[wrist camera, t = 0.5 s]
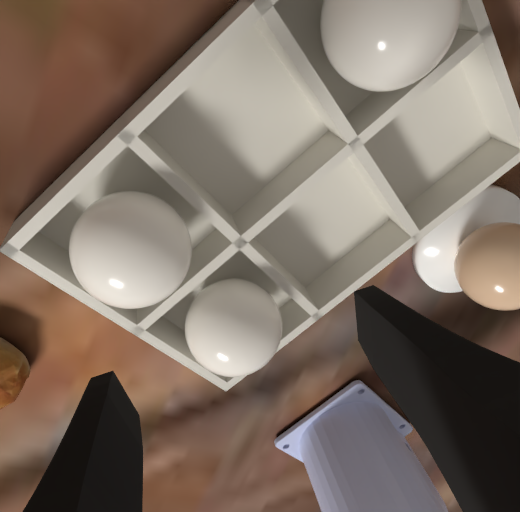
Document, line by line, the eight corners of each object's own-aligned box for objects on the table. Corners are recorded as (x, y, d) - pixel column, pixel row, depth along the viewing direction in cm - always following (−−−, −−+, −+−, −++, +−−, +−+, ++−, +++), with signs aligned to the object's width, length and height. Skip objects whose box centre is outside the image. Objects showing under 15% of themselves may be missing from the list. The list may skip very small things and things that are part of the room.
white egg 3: (429, 25, 18) (512, 35, 14) (341, 103, 19) (396, 133, 15) (379, -89, 15) (464, -117, 11) (278, 7, 16) (326, 11, 12)
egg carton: (496, 136, 22) (533, 150, 20) (218, 359, 26) (226, 391, 24) (384, -143, 15) (424, -165, 13) (13, 221, 18) (-2, 250, 16)
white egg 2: (284, 293, 24) (314, 353, 20) (221, 344, 25) (238, 412, 21) (229, 243, 21) (251, 300, 17) (160, 302, 22) (167, 370, 18)
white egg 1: (206, 222, 20) (225, 278, 16) (135, 284, 21) (136, 352, 17) (128, 150, 18) (128, 196, 14) (51, 225, 18) (29, 288, 14)
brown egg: (518, 242, 26) (588, 287, 22) (453, 291, 27) (509, 343, 23) (495, 191, 23) (569, 231, 19) (424, 246, 24) (481, 296, 20)
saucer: (528, 236, 27) (538, 242, 26) (438, 303, 28) (445, 310, 27) (496, 158, 23) (506, 163, 22) (393, 240, 24) (400, 247, 24)
